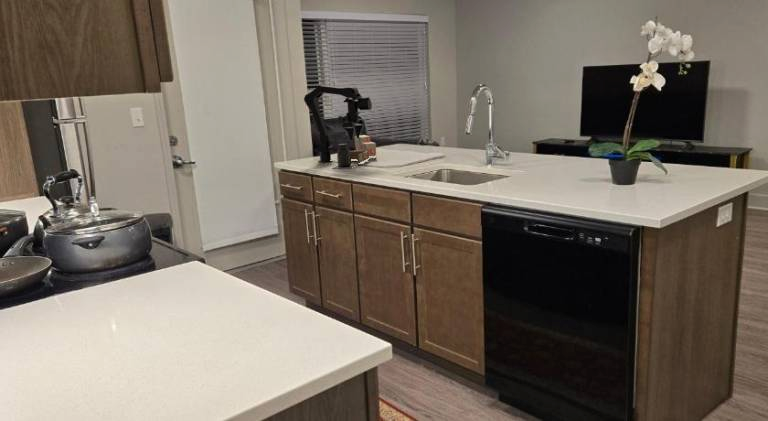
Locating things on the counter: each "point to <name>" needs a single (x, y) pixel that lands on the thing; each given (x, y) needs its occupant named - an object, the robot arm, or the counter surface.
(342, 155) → the supplement bottle
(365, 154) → the open box
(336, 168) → the mat
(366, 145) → the stack of blocks
